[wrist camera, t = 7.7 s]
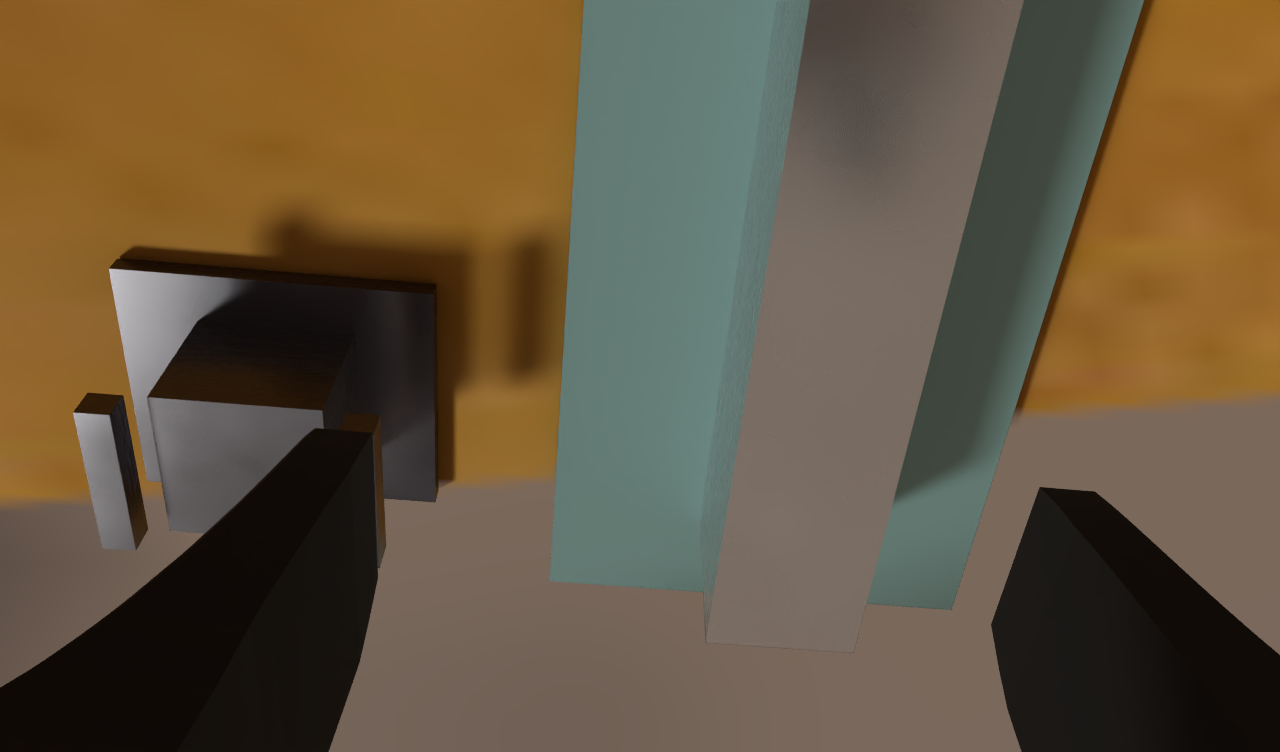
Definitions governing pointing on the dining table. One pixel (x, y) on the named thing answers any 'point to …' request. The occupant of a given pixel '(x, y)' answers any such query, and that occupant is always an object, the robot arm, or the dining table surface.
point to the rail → (839, 301)
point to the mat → (706, 270)
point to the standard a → (257, 388)
